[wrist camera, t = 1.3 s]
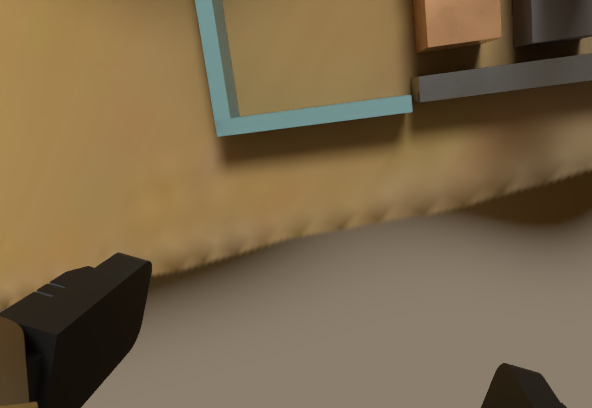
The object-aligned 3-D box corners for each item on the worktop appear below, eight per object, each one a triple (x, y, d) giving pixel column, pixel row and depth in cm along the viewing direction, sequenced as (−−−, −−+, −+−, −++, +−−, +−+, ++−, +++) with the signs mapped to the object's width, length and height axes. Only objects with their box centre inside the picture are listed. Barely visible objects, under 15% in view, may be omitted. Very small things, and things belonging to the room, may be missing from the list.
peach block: (416, 53, 31) (428, 47, 27) (411, -13, 30) (422, -29, 27) (480, 44, 31) (501, 37, 27) (477, -23, 30) (498, -41, 26)
